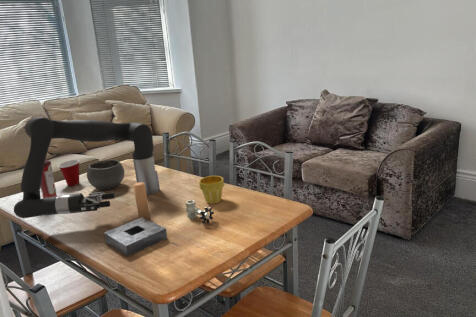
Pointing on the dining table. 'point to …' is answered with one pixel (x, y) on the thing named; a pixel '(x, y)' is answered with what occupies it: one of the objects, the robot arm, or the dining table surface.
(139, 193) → the peg
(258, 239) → the dining table surface
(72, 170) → the plastic cup
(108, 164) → the bowl
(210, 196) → the plant pot
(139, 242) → the socket block
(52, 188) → the sauce bottle
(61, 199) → the robot arm
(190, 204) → the valve
